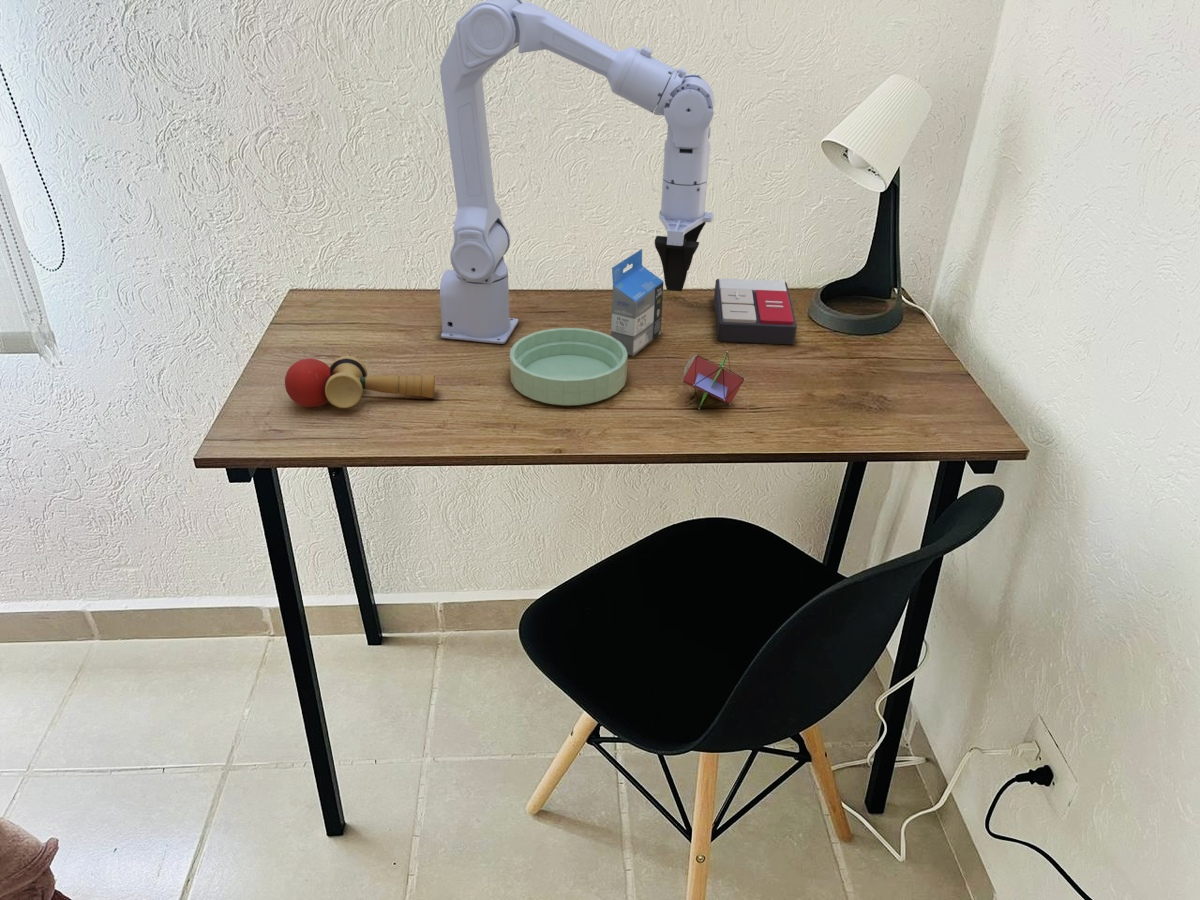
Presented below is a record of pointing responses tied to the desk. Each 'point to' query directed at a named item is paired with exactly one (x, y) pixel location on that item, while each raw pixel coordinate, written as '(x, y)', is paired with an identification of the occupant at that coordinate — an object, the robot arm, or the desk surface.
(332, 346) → the desk surface
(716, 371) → the geometric puzzle
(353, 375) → the kendama
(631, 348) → the tape cartridge
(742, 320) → the calculator
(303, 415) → the desk surface
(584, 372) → the bowl
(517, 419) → the desk surface
